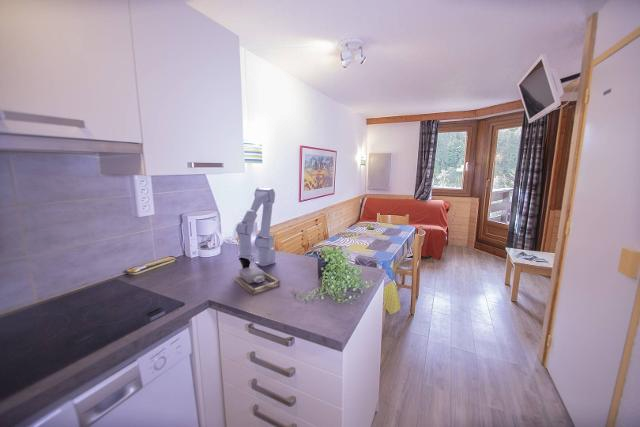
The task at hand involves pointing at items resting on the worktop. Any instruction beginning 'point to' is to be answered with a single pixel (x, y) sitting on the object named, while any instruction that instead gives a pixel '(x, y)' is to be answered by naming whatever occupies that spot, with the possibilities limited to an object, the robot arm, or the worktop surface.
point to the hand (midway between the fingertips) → (245, 270)
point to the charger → (252, 274)
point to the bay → (261, 288)
